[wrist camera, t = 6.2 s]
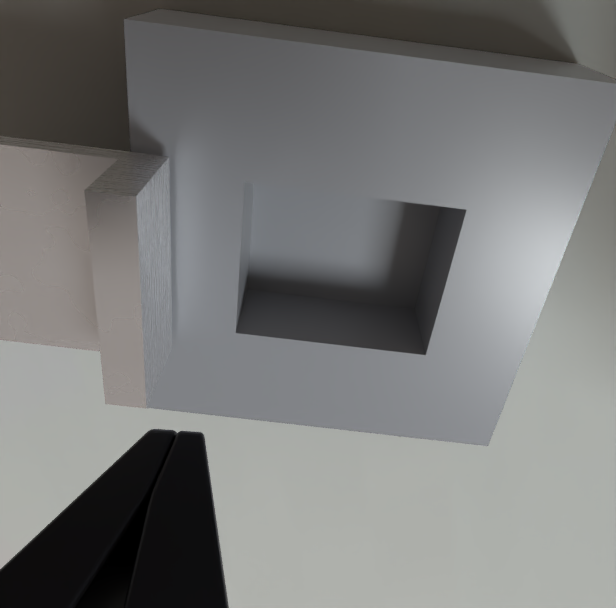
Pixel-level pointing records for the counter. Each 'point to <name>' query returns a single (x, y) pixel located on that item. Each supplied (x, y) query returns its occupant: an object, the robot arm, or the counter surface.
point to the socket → (357, 217)
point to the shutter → (88, 257)
